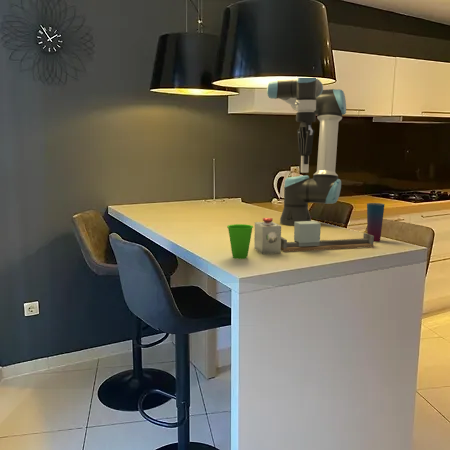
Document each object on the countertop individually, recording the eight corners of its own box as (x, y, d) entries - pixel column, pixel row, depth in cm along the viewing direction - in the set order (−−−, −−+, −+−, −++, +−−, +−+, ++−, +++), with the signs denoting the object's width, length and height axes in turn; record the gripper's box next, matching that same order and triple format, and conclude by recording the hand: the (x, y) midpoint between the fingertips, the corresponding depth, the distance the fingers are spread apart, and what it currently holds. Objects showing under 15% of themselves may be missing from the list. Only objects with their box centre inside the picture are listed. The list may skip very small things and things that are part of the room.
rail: (278, 248, 188) (278, 236, 188) (365, 244, 196) (366, 233, 196) (284, 251, 183) (284, 240, 182) (373, 247, 191) (373, 235, 190)
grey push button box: (254, 248, 188) (254, 222, 187) (271, 247, 190) (272, 221, 188) (262, 254, 178) (263, 227, 177) (281, 253, 180) (281, 226, 178)
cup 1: (248, 261, 168) (248, 229, 166) (223, 259, 171) (223, 227, 170) (256, 255, 176) (256, 225, 175) (232, 253, 180) (232, 223, 178)
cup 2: (384, 239, 205) (386, 203, 202) (379, 242, 199) (381, 205, 197) (368, 238, 208) (370, 202, 206) (362, 240, 203) (364, 204, 200)
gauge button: (261, 238, 185) (261, 217, 184) (270, 238, 186) (270, 217, 184) (264, 240, 181) (264, 219, 180) (273, 240, 182) (273, 219, 181)
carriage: (293, 243, 190) (294, 221, 188) (313, 242, 191) (314, 220, 190) (299, 246, 184) (300, 224, 182) (319, 246, 186) (320, 223, 184)
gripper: (291, 112, 199) (290, 171, 204) (302, 111, 187) (301, 174, 191) (308, 112, 201) (307, 170, 205) (321, 111, 188) (319, 173, 193)
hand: (304, 172), depth 198 cm, fingers closed
